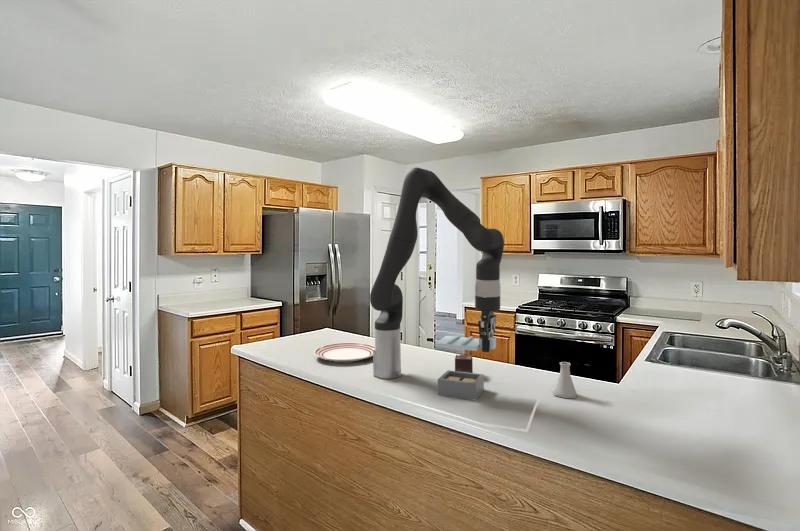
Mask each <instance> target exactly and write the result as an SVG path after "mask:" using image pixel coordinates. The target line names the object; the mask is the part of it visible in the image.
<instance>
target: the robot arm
mask: <svg viewBox="0 0 800 531" xmlns="http://www.w3.org/2000/svg"><path fill="white" fill-rule="evenodd" d="M422 198H426V199H427V200H429V201H430V202H433V203H434V204H435V205H437V206H438V207H439V208H440V210H441V211H442V212H443V214H444V216H445V217H446V219H447V220H448V221H449V222H450V223H451V224H452V225H453V226H454V227H455V228H456V229H457V230H459V231H460V232H461V233H462V234H463V235H464V237H465V238H466V240H467V241H468V243H469V244H470V245H471V246H472V247H473V248H474V249H475V250H476V251H478V252H481V253H482V255H481V259H480V260H478V261H477V263H476V265H475V266H476V268H475V286H474V293H475V295H474V307H475V308H474V309H475V310H477V311H480V312H481V314H480V317H479V320H478V322H477V326H478V333H479V334H478V335H479V338H480V339H482V348H481V351H482V352H483V353H490V350H491V349H490V337H495V336H494V334H495V333H496V322H497V314H495V313H494V312H499V311H500V309H501V282H500V281H501V280H500V278H501V273H500V271H501V270H500V269H501V268H500V266H501V262H502V258H503V253H504V248H505V239H504V235H503V233H502V232H501V230H499V229H496V228H487V227H485V226H484V225H483V224H482V223H481V219H480V217H479V216H478V215H477V214H476V213H475V212H474V211H472V210H471V209H470V208H469V207H467V205H466V204H464V203H463V202H461V200H459V199H458V198H457V197H456V196H455V194H453V193H452V192H451V191H450V190H449V189H448V188H447V186H446V185H445V184H444V183H443V182H442V180H441V179H440V178H439V177H438V176H437V174H435V173H434V172H433V171H431V170H428V169H425V168H421V167H413V168H411V169H410V170H408V172H407V173H406V175H405V176H404V180H403V184H402V188H401V193H400V199H399V204H398V208H397V211H396V215H395V219H394V222H393V226H392V229H391V232H390V234H389V238H388V243H387V245H386V249H385V252H384V255H383V258H382V262H381V265H380V269H379V271H378V274H377V275H376V276H377V277H376V278H375V281H374V283H373V286H372V288H371V291H370V294H369V302H370V305H371V307H372V308H373V309H374V310H375V311H378V312H379V311H380V314H379V316H378V317H377V318H376V319H375V321H374V346H375V349H374V350H373V356H372V363H373V364H372V370H373V372H372V374H373V376H374V377H377V378H379V379H386V380H387V379H389V380H391V379H395V378H398V377H400V376H402V358H401V357H402V356H401V355H402V354H401V353H402V352H401V351H402V350H401V349H402V348H401V322H402V321H403V312H404V310H403V307H404V306H403V305H404V304H403V303H404V302H403V301H404V298H403V292H402V289H401V288H400V287H399V286H398V285H397V284H396V281H397V279H398V276H399V275H400V273H401V271H402V270H403V269H404V267H405V266H406V265H407V263H408V262H409V260H410V258H411V257H412V256H413V252H414V249H415V247H416V244H417V240H418V234H419V233H418V224H417V223H418V222H417V210H418V206H419V203H420V200H421V199H422Z"/></svg>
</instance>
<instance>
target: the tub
mask: <svg viewBox="0 0 800 531" xmlns="http://www.w3.org/2000/svg"><path fill="white" fill-rule="evenodd" d="M449 376H453V377H461V381H458V380H450V379H447V378H448V377H449ZM484 376H485V374H484V373H475V372H473V373H468V372H459V371H455V370H450V369H449V370H446V371H445V372H444V373H443V374H442V375H441V376H440V377H439V378H437V395H438V396H443V397H444V396H445V397H450V398H459V399H467V400H474V401H477V399H478V398H479V397H480V395H481V394H482V393H483V391H484V390H485V389H484V388H485V387H484V386H485V382H484V381H485V378H484ZM464 378H470V379H476V380H475V381H474V382H466V381H462V380H463V379H464Z"/></svg>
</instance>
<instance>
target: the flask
mask: <svg viewBox="0 0 800 531" xmlns="http://www.w3.org/2000/svg"><path fill="white" fill-rule="evenodd" d="M571 365H572V364H571V363H570V362H567V361H561V362H559V366H560V371H559V376H558V378H557V381H556V384H555V386H554V388H553V391H552V394H553V396H554V397H558V398H562V399H575V398H576V397H578V393H577V391H576V389H575V386H574V382H573V379H572V376H571V369H570V367H571Z"/></svg>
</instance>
